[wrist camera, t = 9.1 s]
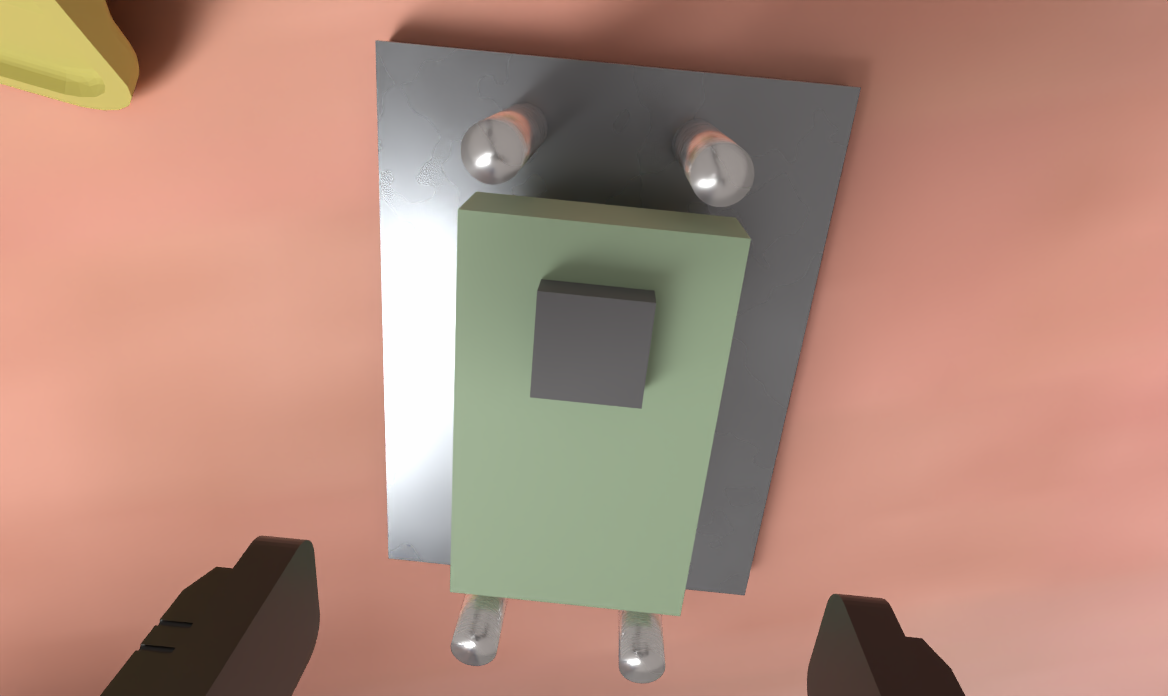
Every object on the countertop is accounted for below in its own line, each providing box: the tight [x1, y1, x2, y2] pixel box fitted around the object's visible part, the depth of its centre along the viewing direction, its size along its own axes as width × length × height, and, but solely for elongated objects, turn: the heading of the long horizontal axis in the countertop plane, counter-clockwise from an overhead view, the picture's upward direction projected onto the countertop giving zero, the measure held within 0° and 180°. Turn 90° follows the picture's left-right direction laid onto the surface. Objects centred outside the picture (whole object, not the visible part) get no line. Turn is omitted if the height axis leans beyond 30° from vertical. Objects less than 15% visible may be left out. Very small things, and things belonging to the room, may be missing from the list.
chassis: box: [376, 41, 861, 683], centre depth 19 cm, size 16×12×6 cm
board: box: [450, 192, 751, 616], centre depth 17 cm, size 10×6×3 cm, turn 175°
